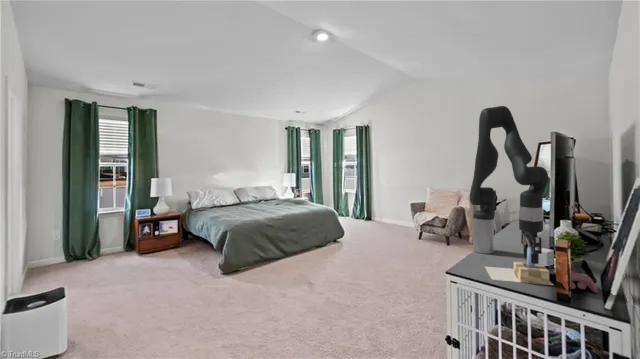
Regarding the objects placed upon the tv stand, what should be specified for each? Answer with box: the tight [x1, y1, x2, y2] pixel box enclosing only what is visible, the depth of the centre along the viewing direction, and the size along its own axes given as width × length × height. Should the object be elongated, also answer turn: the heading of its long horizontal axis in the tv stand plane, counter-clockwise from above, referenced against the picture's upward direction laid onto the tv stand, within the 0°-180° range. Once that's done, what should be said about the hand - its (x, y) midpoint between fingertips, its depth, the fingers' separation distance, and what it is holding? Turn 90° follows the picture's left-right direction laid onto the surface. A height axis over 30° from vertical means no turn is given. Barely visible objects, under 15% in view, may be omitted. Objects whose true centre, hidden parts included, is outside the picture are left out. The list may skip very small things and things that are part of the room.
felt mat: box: [484, 266, 554, 286], centre depth 116 cm, size 15×20×1 cm
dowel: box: [526, 247, 536, 268], centre depth 112 cm, size 3×3×12 cm
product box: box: [535, 247, 555, 266], centre depth 126 cm, size 6×6×7 cm
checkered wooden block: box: [513, 261, 550, 286], centre depth 112 cm, size 9×9×5 cm
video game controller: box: [570, 272, 599, 294], centre depth 103 cm, size 10×5×7 cm, turn 78°
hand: (530, 259), depth 112 cm, fingers open, 8 cm apart
